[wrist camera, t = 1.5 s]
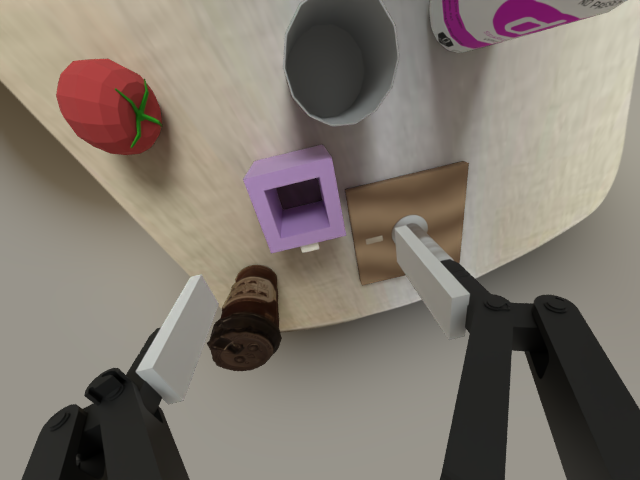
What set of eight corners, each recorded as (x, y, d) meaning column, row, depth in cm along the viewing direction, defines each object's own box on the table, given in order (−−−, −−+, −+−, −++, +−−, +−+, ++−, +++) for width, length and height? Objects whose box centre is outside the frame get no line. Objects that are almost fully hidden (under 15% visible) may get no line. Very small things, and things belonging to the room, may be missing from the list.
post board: (344, 189, 33) (364, 222, 24) (463, 161, 32) (527, 183, 24) (360, 280, 41) (379, 330, 32) (455, 258, 40) (500, 302, 32)
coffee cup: (221, 261, 36) (189, 333, 25) (276, 252, 36) (269, 319, 25) (238, 304, 41) (218, 381, 29) (288, 295, 41) (287, 369, 30)
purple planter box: (254, 160, 30) (243, 179, 23) (322, 144, 30) (331, 157, 23) (278, 229, 35) (274, 261, 28) (336, 215, 35) (347, 244, 28)
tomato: (10, 109, 18) (111, 129, 18) (51, 24, 20) (145, 43, 20) (100, 162, 26) (171, 176, 26) (125, 99, 27) (192, 112, 28)
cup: (311, 132, 29) (320, 146, 20) (269, 57, 25) (258, 35, 16) (376, 90, 27) (414, 86, 19) (342, 4, 24) (371, -52, 15)
